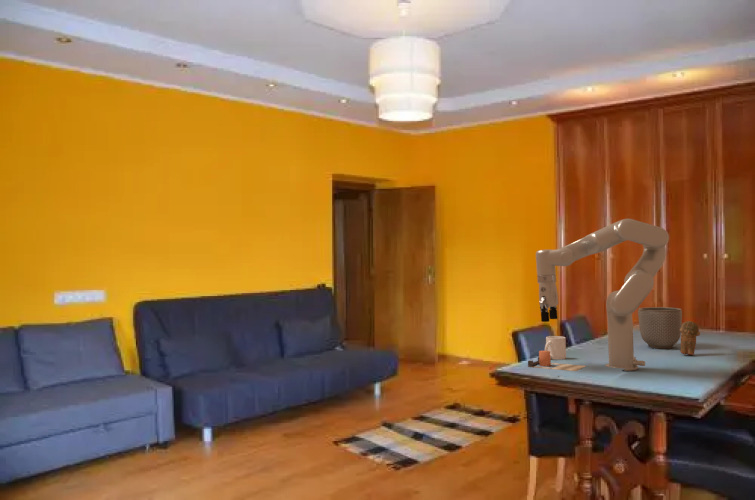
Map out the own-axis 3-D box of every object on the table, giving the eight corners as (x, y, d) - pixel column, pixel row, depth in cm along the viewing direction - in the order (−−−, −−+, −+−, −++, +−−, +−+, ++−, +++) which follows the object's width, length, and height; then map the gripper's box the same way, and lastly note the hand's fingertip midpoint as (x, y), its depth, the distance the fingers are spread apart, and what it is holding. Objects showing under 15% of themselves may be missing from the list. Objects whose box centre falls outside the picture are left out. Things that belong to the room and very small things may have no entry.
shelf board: (586, 368, 251) (586, 359, 251) (576, 374, 241) (575, 364, 241) (539, 364, 263) (539, 356, 263) (527, 369, 253) (527, 360, 253)
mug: (553, 363, 265) (552, 339, 265) (537, 361, 271) (536, 338, 271) (569, 360, 272) (569, 337, 272) (554, 358, 279) (553, 335, 279)
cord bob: (552, 367, 255) (551, 351, 255) (548, 369, 252) (547, 352, 252) (541, 367, 258) (541, 350, 258) (537, 368, 254) (537, 351, 254)
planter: (690, 350, 291) (689, 309, 292) (649, 351, 292) (647, 310, 292) (671, 344, 311) (670, 306, 311) (632, 345, 311) (631, 307, 312)
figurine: (680, 356, 275) (679, 322, 276) (679, 353, 283) (678, 320, 283) (702, 356, 272) (700, 323, 272) (700, 354, 280) (698, 321, 280)
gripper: (548, 280, 247) (551, 322, 246) (562, 277, 261) (565, 318, 260) (530, 280, 251) (533, 322, 251) (545, 278, 265) (548, 318, 265)
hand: (549, 320), depth 256 cm, fingers open, 9 cm apart
